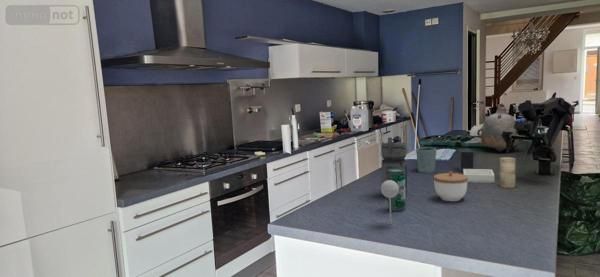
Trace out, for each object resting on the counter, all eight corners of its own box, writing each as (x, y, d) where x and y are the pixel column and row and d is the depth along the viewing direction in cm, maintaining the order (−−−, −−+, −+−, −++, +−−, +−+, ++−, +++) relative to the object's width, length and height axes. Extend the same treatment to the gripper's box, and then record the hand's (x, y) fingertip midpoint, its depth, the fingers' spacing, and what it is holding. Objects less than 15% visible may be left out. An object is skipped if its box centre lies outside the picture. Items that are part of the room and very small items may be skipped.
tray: (463, 176, 201) (463, 168, 201) (491, 176, 197) (491, 169, 197) (464, 182, 190) (464, 174, 189) (494, 183, 185) (494, 175, 185)
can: (402, 212, 151) (401, 172, 150) (386, 210, 155) (385, 170, 153) (407, 207, 157) (406, 168, 155) (391, 205, 160) (390, 167, 158)
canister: (498, 184, 183) (499, 157, 182) (514, 184, 181) (514, 157, 180) (500, 187, 178) (500, 159, 176) (516, 187, 175) (516, 160, 174)
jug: (484, 154, 253) (484, 105, 249) (475, 149, 274) (475, 103, 270) (527, 153, 248) (528, 103, 245) (515, 148, 269) (515, 101, 266)
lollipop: (379, 221, 143) (378, 179, 141) (396, 220, 143) (395, 177, 141) (384, 227, 137) (383, 183, 135) (402, 226, 137) (401, 181, 135)
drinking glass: (415, 172, 214) (414, 149, 212) (417, 168, 223) (417, 146, 222) (435, 173, 210) (435, 150, 208) (437, 169, 219) (437, 146, 218)
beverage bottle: (411, 191, 178) (410, 134, 175) (402, 199, 167) (401, 138, 164) (388, 189, 184) (387, 133, 180) (378, 197, 172) (376, 137, 169)
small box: (474, 172, 209) (474, 151, 207) (460, 172, 210) (460, 151, 209) (469, 167, 219) (469, 148, 218) (456, 167, 220) (456, 148, 219)
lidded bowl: (451, 205, 156) (451, 176, 155) (427, 198, 168) (426, 171, 166) (474, 199, 162) (474, 171, 161) (449, 193, 173) (449, 167, 172)
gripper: (503, 113, 190) (489, 140, 186) (546, 114, 175) (532, 144, 170) (512, 129, 196) (499, 155, 191) (554, 131, 181) (541, 160, 176)
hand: (517, 153), depth 182 cm, fingers open, 9 cm apart
